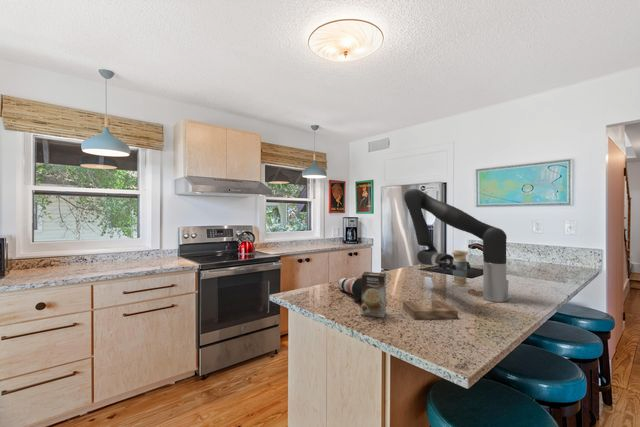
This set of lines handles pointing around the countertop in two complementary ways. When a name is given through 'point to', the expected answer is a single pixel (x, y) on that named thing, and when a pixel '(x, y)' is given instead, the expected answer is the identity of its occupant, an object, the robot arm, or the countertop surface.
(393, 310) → the countertop surface
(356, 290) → the black white tapered cylinder
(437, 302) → the notched board
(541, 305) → the countertop surface
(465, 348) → the countertop surface
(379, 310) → the coffee box
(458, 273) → the cord spool
